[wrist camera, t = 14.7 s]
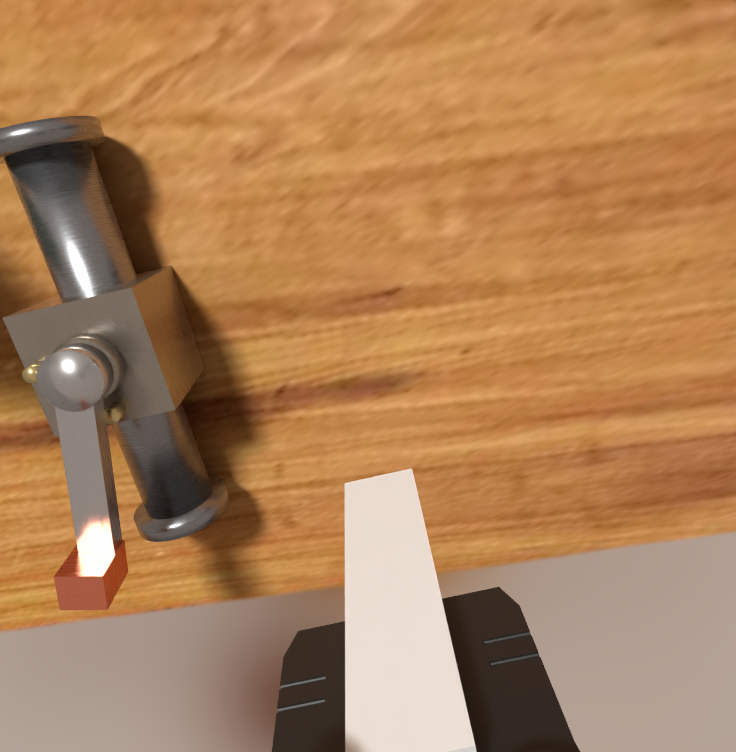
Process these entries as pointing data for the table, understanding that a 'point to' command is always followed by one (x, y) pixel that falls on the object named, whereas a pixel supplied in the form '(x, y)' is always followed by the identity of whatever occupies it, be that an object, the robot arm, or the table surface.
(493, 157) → the table surface
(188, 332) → the valve body
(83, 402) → the lever
